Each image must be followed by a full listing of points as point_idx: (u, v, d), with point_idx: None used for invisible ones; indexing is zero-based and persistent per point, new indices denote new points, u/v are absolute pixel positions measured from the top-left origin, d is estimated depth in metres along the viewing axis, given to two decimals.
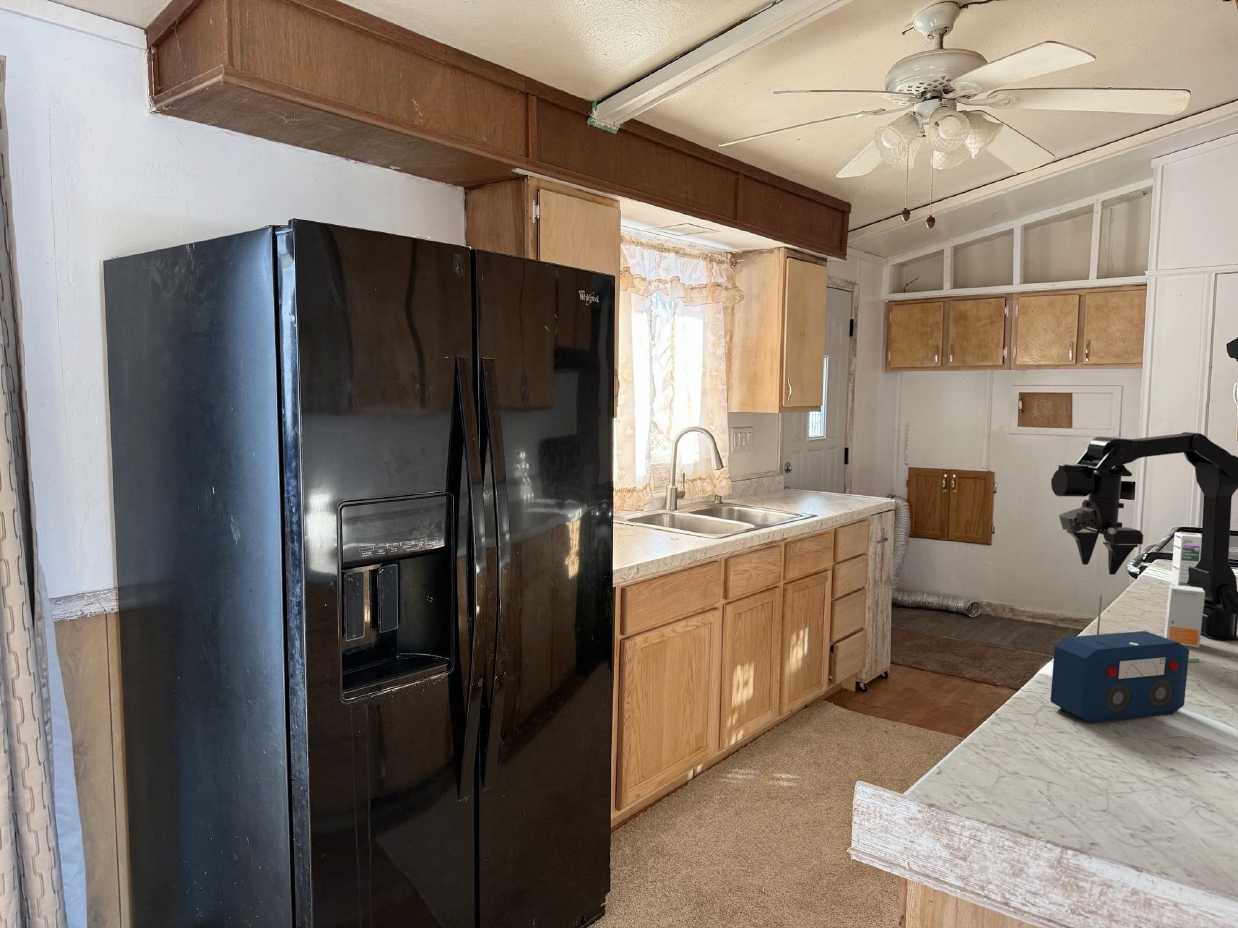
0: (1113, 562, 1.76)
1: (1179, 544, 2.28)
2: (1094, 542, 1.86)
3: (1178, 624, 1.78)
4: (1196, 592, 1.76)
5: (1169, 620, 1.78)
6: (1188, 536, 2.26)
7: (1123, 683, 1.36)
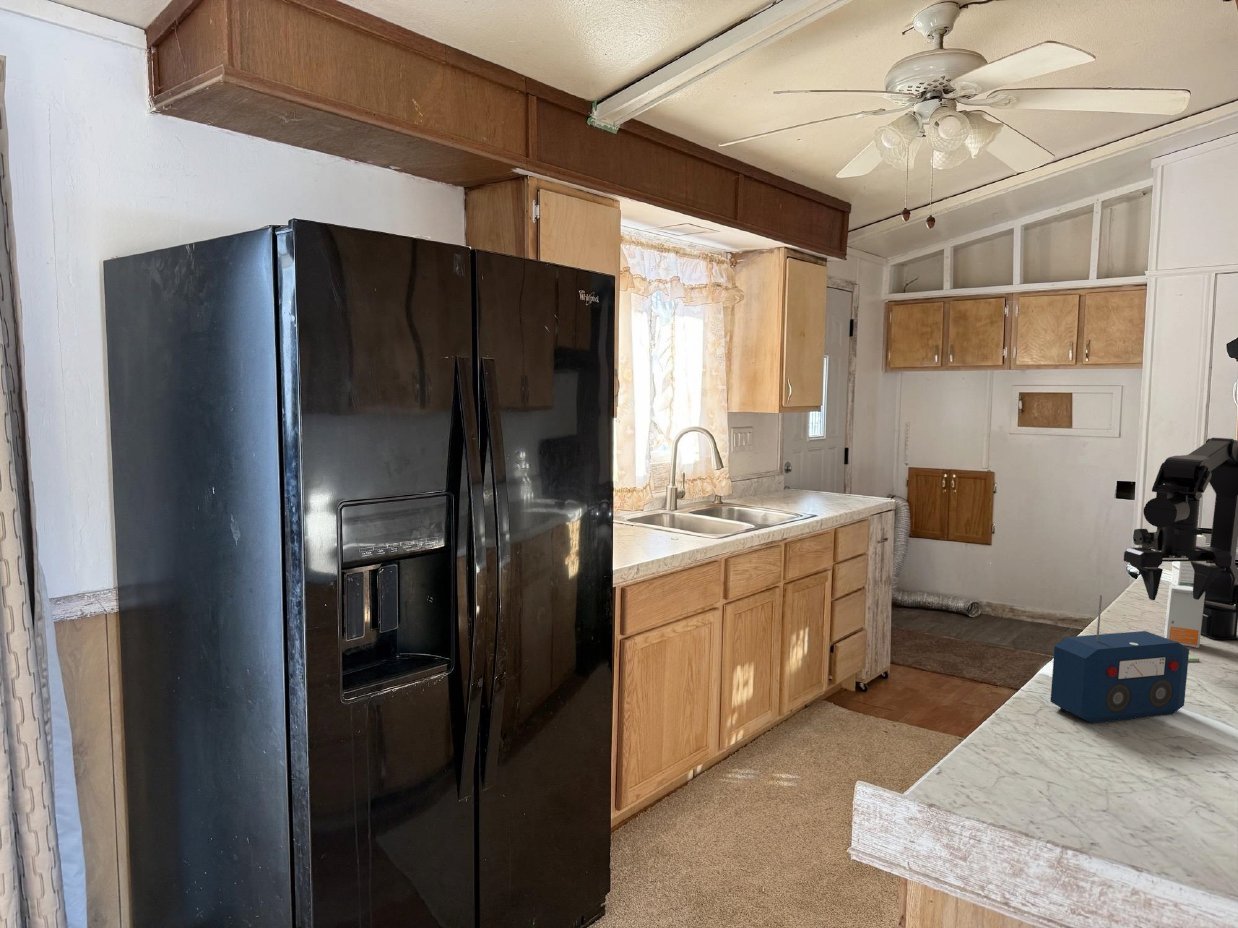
0: (1146, 585, 1.69)
1: None
2: (1206, 577, 1.67)
3: (1178, 624, 1.78)
4: None
5: (1169, 620, 1.78)
6: None
7: (1123, 683, 1.36)
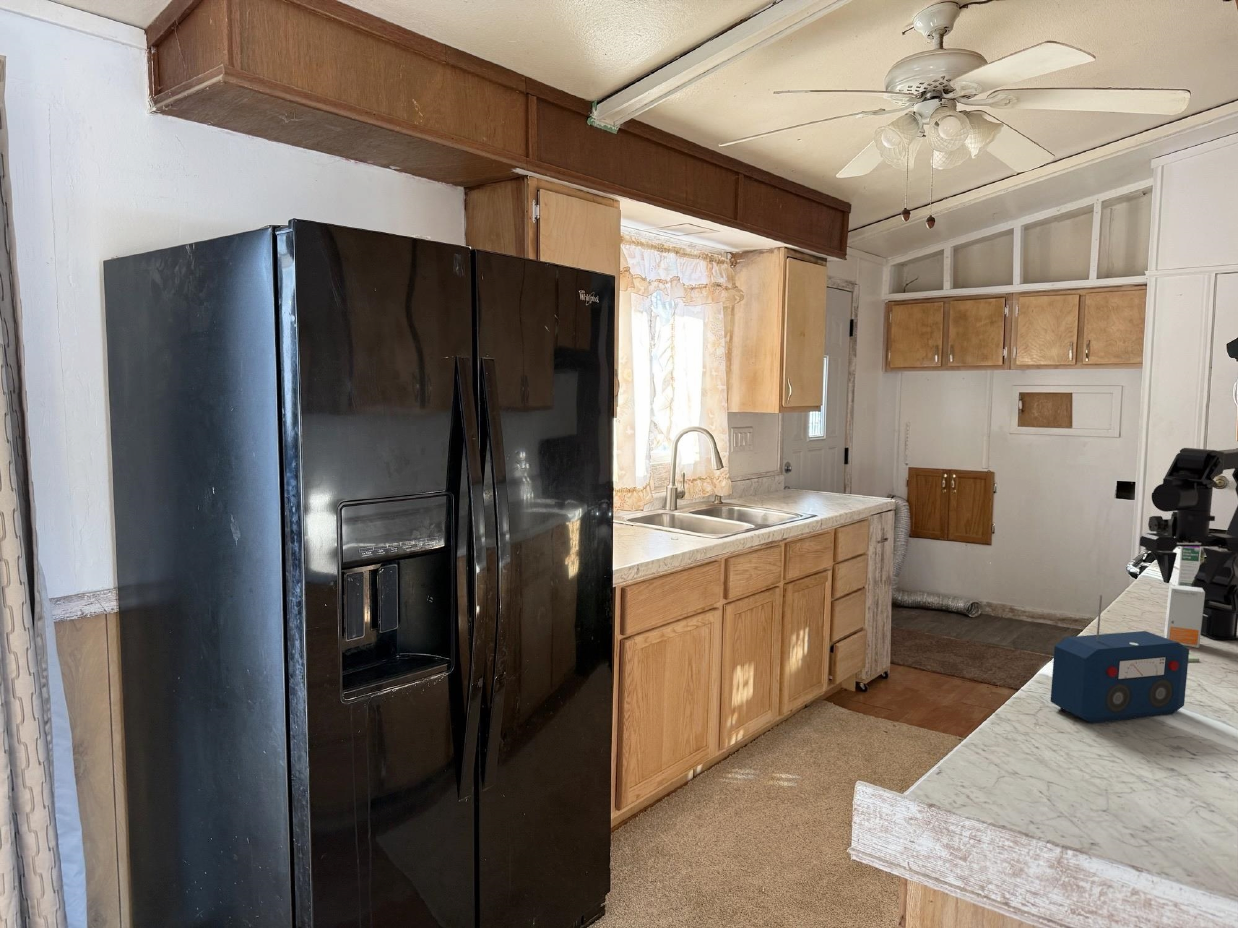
0: (1160, 569, 1.78)
1: None
2: (1218, 562, 1.76)
3: (1178, 624, 1.78)
4: (1196, 592, 1.76)
5: (1169, 620, 1.78)
6: None
7: (1123, 683, 1.36)
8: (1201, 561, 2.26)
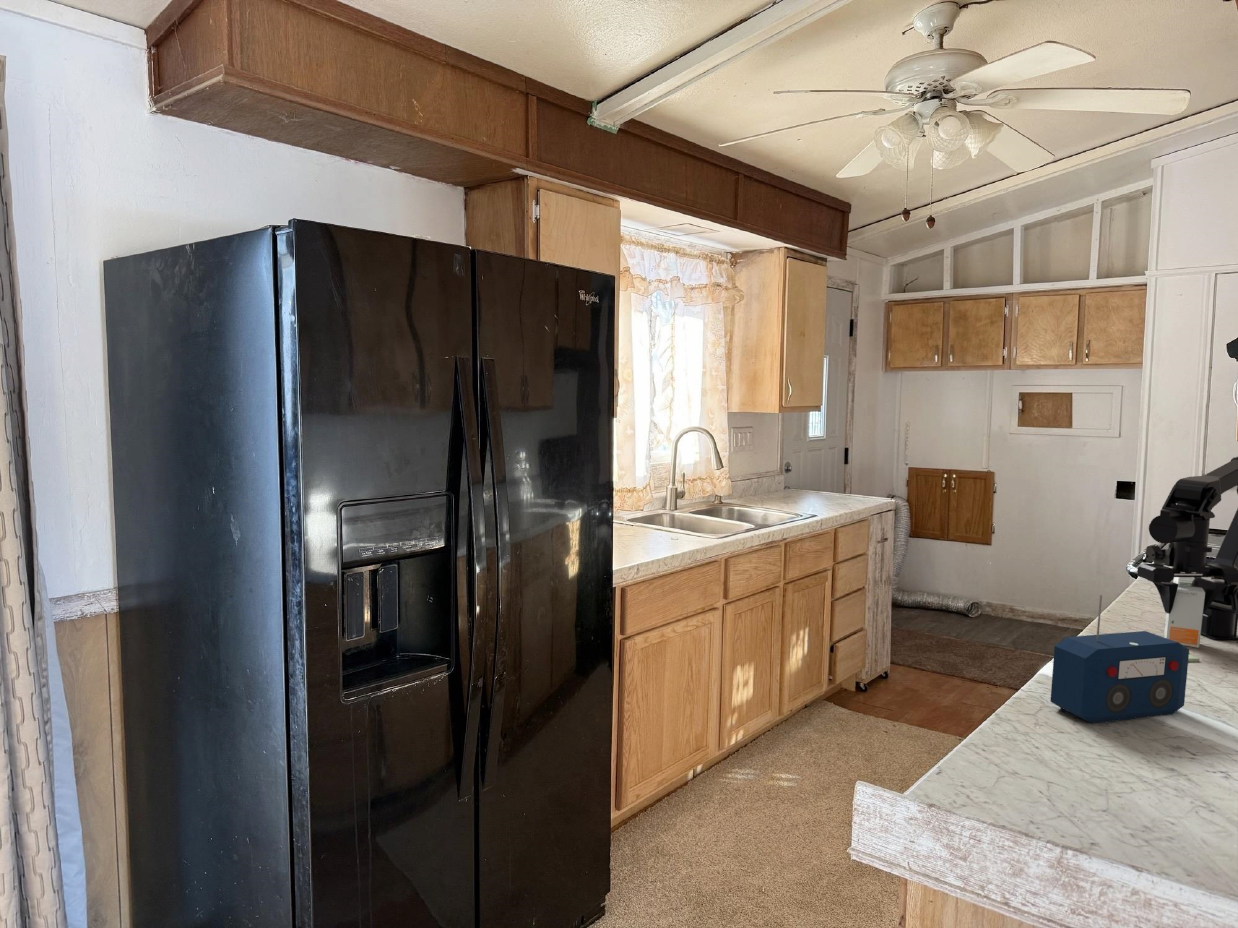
0: (1162, 599, 1.79)
1: None
2: (1211, 592, 1.77)
3: (1178, 624, 1.78)
4: (1196, 592, 1.76)
5: (1169, 620, 1.78)
6: None
7: (1123, 683, 1.36)
8: None
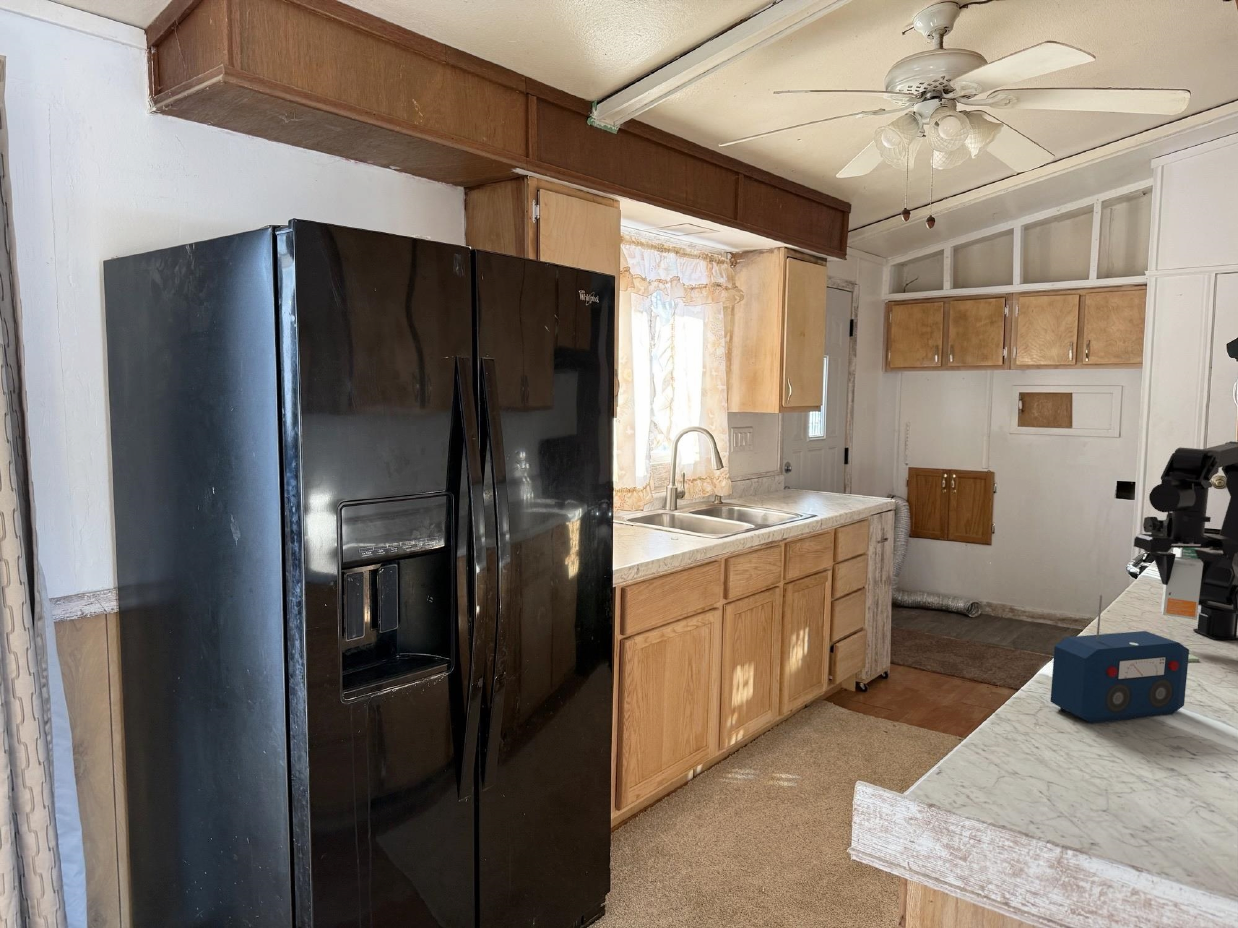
0: (1159, 570, 1.75)
1: None
2: (1209, 563, 1.73)
3: (1175, 596, 1.74)
4: (1194, 563, 1.72)
5: (1166, 591, 1.75)
6: None
7: (1123, 683, 1.36)
8: None
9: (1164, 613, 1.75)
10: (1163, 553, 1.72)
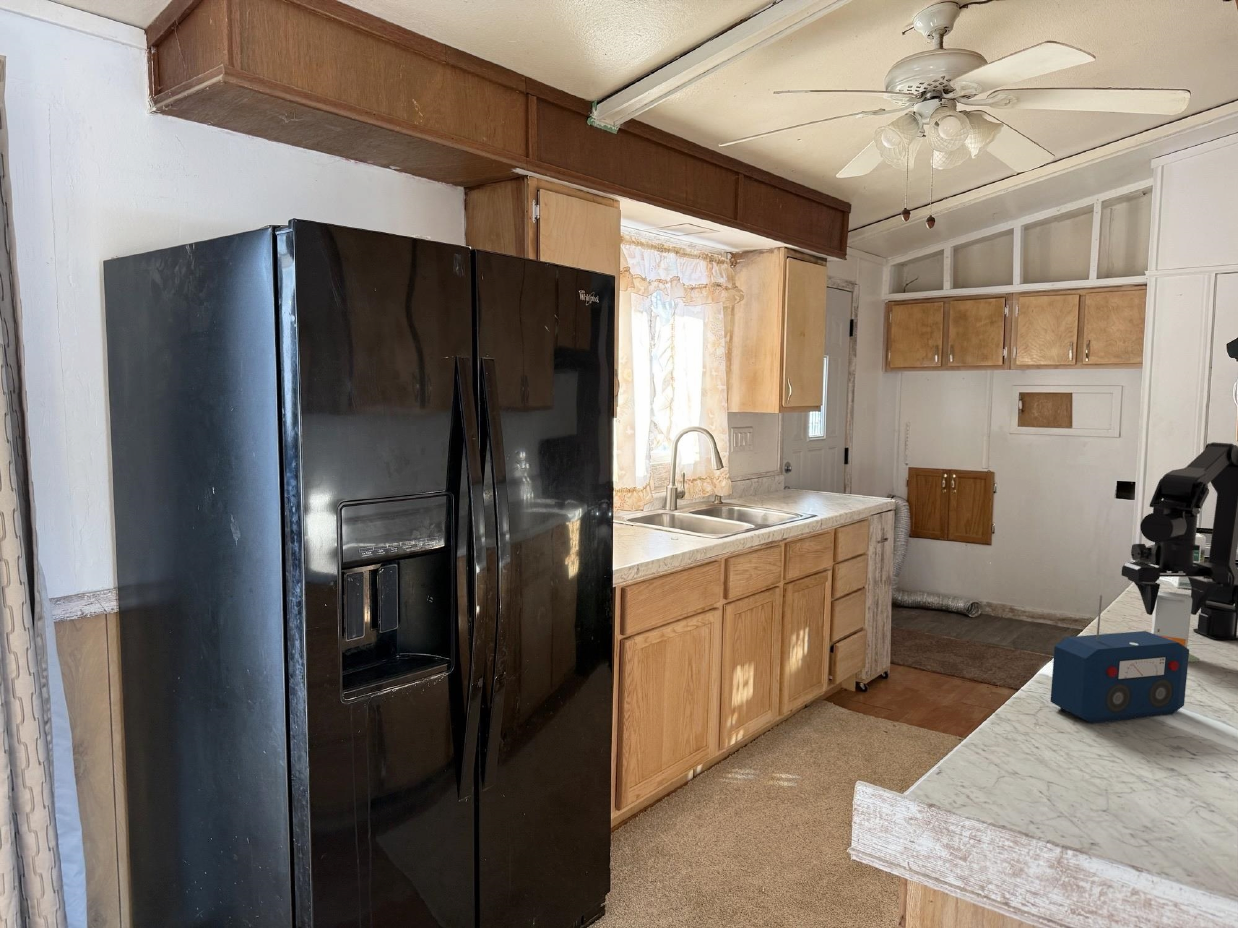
0: (1143, 600, 1.70)
1: None
2: (1203, 593, 1.68)
3: (1164, 633, 1.69)
4: (1183, 599, 1.67)
5: (1155, 628, 1.70)
6: None
7: (1123, 683, 1.36)
8: (1201, 561, 2.26)
9: None
10: (1147, 583, 1.66)
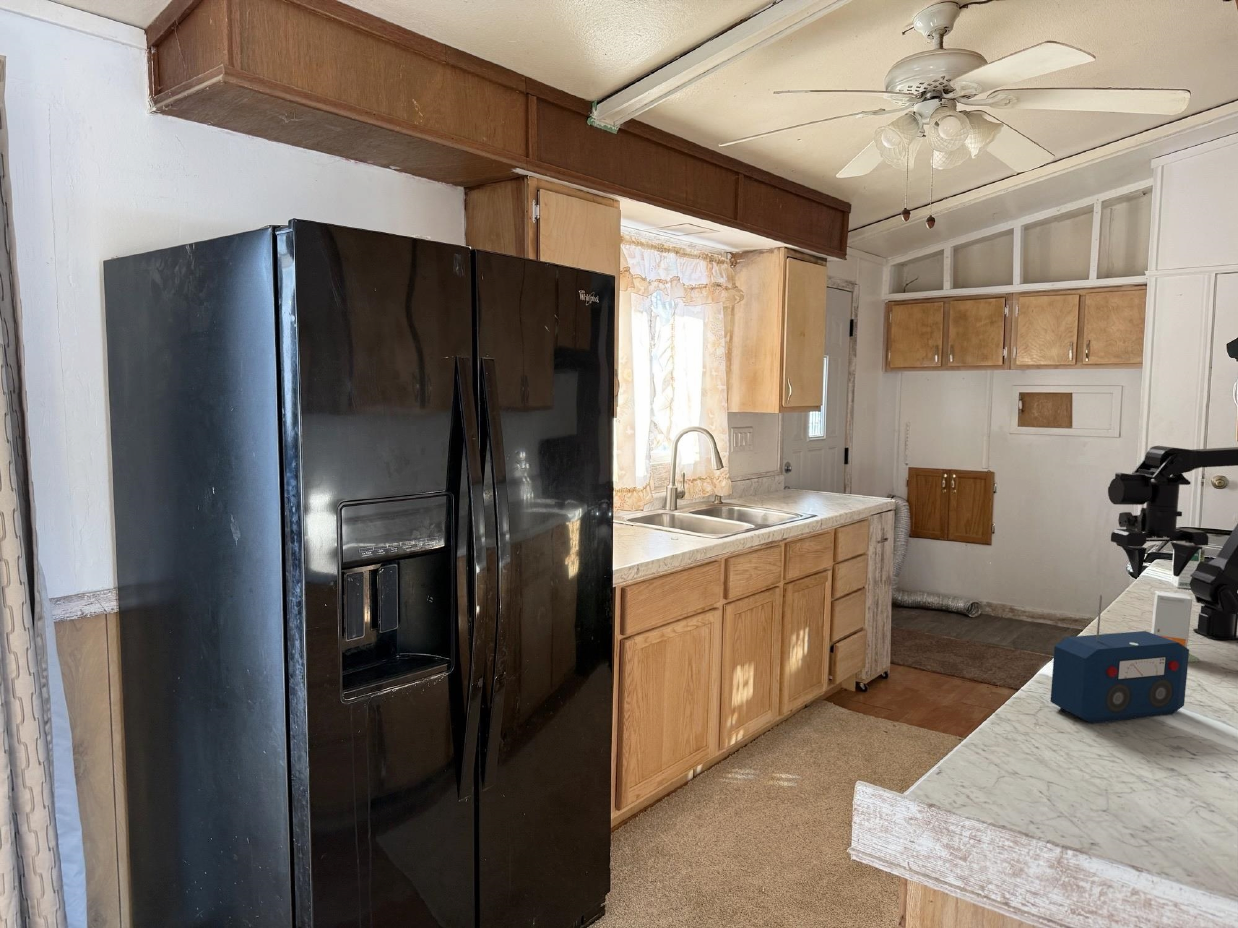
0: (1131, 563, 1.83)
1: None
2: (1185, 556, 1.82)
3: (1164, 633, 1.69)
4: (1183, 599, 1.67)
5: (1155, 628, 1.70)
6: None
7: (1123, 683, 1.36)
8: None
9: None
10: (1135, 547, 1.80)
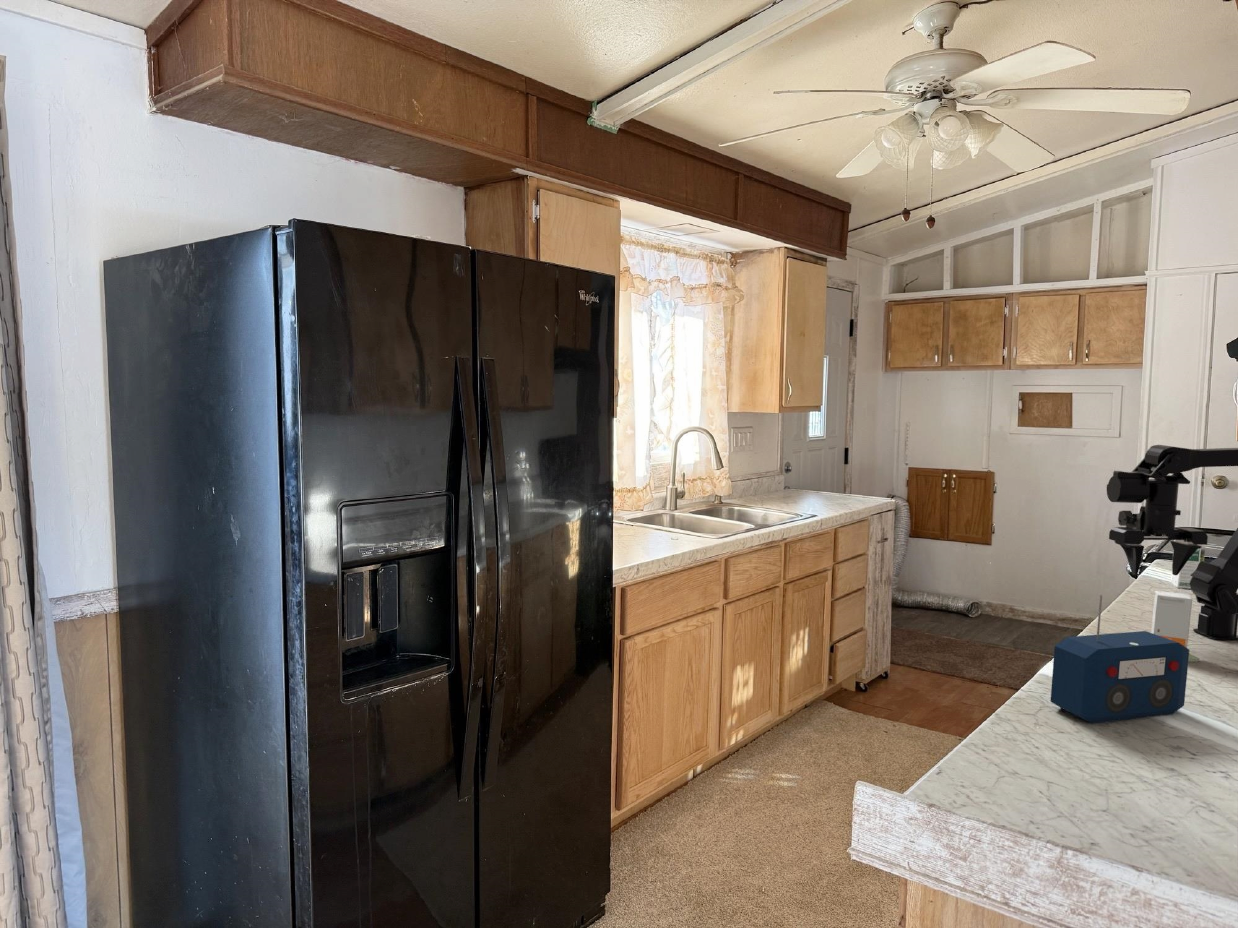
0: (1129, 561, 1.85)
1: None
2: (1184, 554, 1.83)
3: (1164, 633, 1.69)
4: (1183, 599, 1.67)
5: (1155, 628, 1.70)
6: None
7: (1123, 683, 1.36)
8: None
9: None
10: (1132, 545, 1.81)
